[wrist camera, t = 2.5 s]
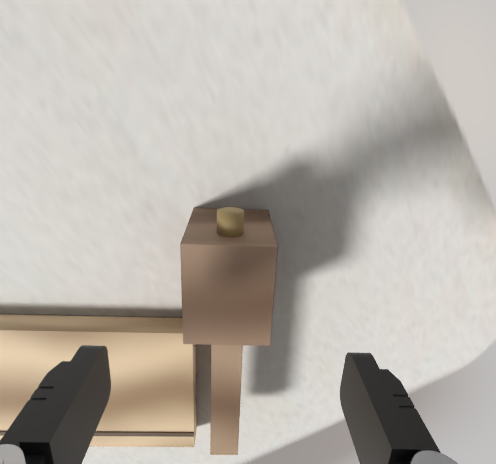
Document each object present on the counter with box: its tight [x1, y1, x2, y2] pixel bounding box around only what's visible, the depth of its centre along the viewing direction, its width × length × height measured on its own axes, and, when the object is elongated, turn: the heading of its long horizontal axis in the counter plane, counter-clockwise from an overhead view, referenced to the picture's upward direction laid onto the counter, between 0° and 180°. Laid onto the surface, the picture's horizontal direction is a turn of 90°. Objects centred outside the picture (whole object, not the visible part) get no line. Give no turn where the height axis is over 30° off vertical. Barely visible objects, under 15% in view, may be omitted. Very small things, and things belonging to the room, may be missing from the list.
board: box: [0, 314, 197, 447], centre depth 22 cm, size 9×20×2 cm, turn 88°
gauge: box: [180, 207, 278, 455], centre depth 20 cm, size 15×4×5 cm, turn 178°
